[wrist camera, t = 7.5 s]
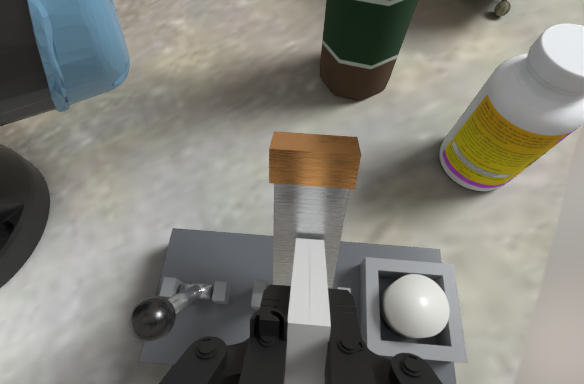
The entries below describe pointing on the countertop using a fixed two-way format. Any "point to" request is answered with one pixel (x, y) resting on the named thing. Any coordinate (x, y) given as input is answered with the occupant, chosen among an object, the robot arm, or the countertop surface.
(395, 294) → the push button
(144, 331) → the toggle switch
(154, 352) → the switch panel
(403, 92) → the countertop surface
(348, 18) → the beer bottle
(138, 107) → the countertop surface
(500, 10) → the tabletop clock
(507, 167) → the supplement bottle
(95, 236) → the countertop surface
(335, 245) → the paddle lever
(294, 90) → the countertop surface
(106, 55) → the robot arm
